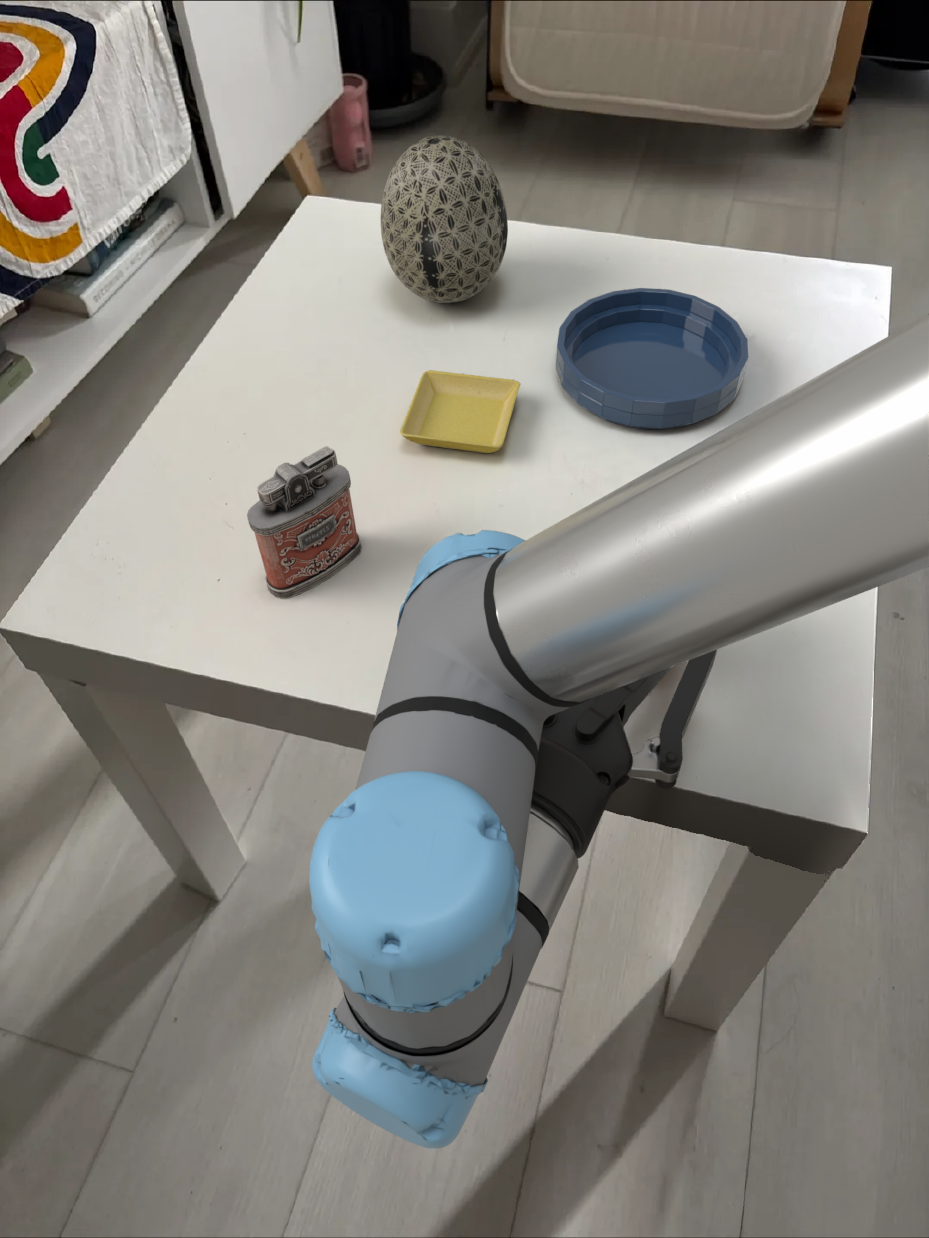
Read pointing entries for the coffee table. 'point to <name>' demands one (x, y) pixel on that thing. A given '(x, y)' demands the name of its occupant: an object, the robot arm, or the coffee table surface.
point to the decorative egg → (443, 220)
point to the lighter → (305, 523)
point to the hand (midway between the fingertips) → (661, 537)
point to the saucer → (460, 411)
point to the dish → (651, 357)
